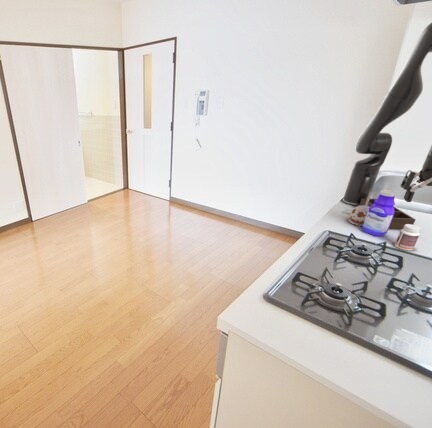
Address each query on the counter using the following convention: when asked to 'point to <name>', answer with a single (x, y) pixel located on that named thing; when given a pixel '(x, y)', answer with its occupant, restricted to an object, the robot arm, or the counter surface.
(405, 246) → the pill bottle
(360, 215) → the decorative ornament
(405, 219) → the organiser
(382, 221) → the bottle
